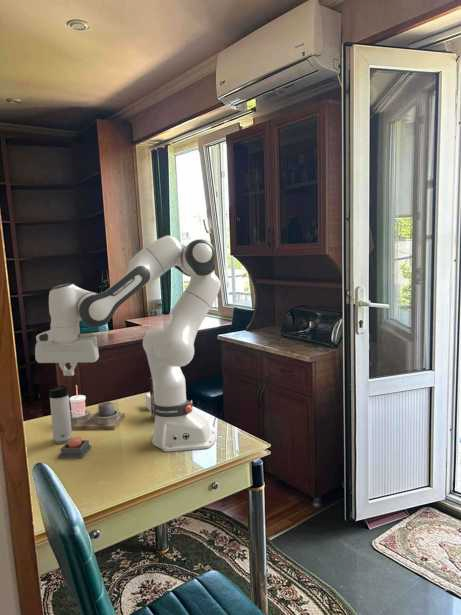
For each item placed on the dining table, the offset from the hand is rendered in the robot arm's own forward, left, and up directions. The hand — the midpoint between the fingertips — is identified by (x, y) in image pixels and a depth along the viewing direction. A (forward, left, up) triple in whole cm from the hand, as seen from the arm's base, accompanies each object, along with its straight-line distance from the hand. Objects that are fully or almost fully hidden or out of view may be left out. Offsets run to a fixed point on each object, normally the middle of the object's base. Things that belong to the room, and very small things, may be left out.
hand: (68, 375), depth 153 cm
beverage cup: (+9, -26, -26) cm, 38 cm away
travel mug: (+9, -10, -27) cm, 30 cm away
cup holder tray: (+4, -26, -27) cm, 38 cm away
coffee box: (-23, -32, -27) cm, 48 cm away
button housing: (0, 0, -27) cm, 27 cm away
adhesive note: (-17, -43, -27) cm, 54 cm away
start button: (0, 0, -24) cm, 24 cm away
